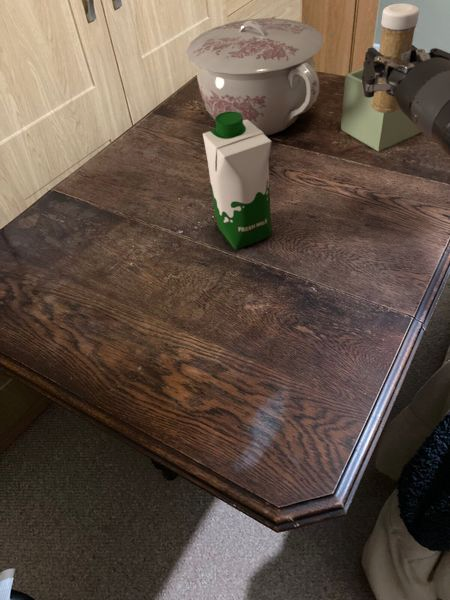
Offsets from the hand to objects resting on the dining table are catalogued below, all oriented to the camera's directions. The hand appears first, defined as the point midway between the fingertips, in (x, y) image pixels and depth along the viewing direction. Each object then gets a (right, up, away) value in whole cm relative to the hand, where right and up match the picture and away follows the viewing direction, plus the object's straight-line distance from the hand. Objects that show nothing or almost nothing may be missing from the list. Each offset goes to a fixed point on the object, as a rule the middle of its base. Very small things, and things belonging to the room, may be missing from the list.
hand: (385, 52), depth 71 cm
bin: (+9, -1, +32) cm, 33 cm away
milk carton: (-20, -24, +14) cm, 34 cm away
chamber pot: (-16, +4, +40) cm, 43 cm away
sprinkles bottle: (+1, -7, +3) cm, 8 cm away
